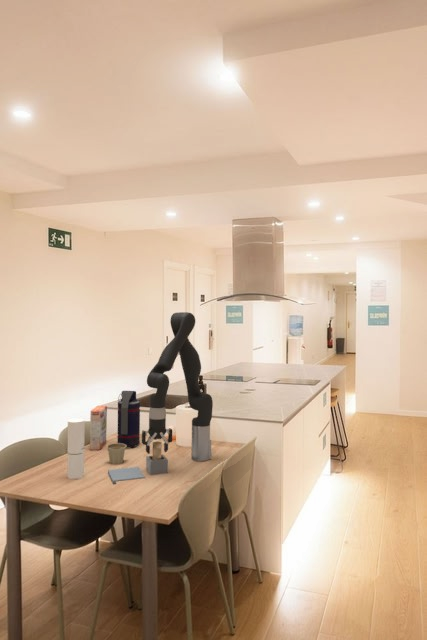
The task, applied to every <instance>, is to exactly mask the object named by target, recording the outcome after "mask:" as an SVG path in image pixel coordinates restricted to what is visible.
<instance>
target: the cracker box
mask: <svg viewBox="0 0 427 640" xmlns="http://www.w3.org/2000/svg"><path fill="white" fill-rule="evenodd" d="M107 417H108V406H107V405H97V406H95V407H94V408H92V409H91V410H90V422H89V423H90V426H89V427H90V428H89V429H90V430H89V450H91V451H101V449H102V448H103V447H104V446H105V445H106V444H107V427H108V426H107V423H108V422H107V421H108V420H107V419H108V418H107Z"/></svg>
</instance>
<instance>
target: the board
mask: <svg viewBox="0 0 427 640" xmlns="http://www.w3.org/2000/svg"><path fill="white" fill-rule="evenodd" d="M107 474H108V476H109V479H110V481H111V483H112V484H113V485H117V482H124V481H132V480H141V479H146V476H145V474H144V473H143V471H142V470H141V469H140V467H139V466H132V467H124V468H123V467H122V468H114V469H108V470H107Z"/></svg>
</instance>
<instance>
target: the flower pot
mask: <svg viewBox="0 0 427 640" xmlns="http://www.w3.org/2000/svg"><path fill="white" fill-rule="evenodd" d="M126 446H127V445H125V444H122V443H118V442H115V443H110V444H108V445H106V448H107V449H106V450H107V451H108V459H109V463H110V464H113V465H115V464H116V465H117V464H118V465H119V464H122V463H123V462H124V460H125V459H124V458H125V452H126V451H125V450H126V448H127V447H126Z"/></svg>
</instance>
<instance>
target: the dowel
mask: <svg viewBox="0 0 427 640" xmlns="http://www.w3.org/2000/svg"><path fill="white" fill-rule="evenodd" d="M161 455H162V441H157V440H156V441H152V456H153V460H161Z"/></svg>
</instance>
